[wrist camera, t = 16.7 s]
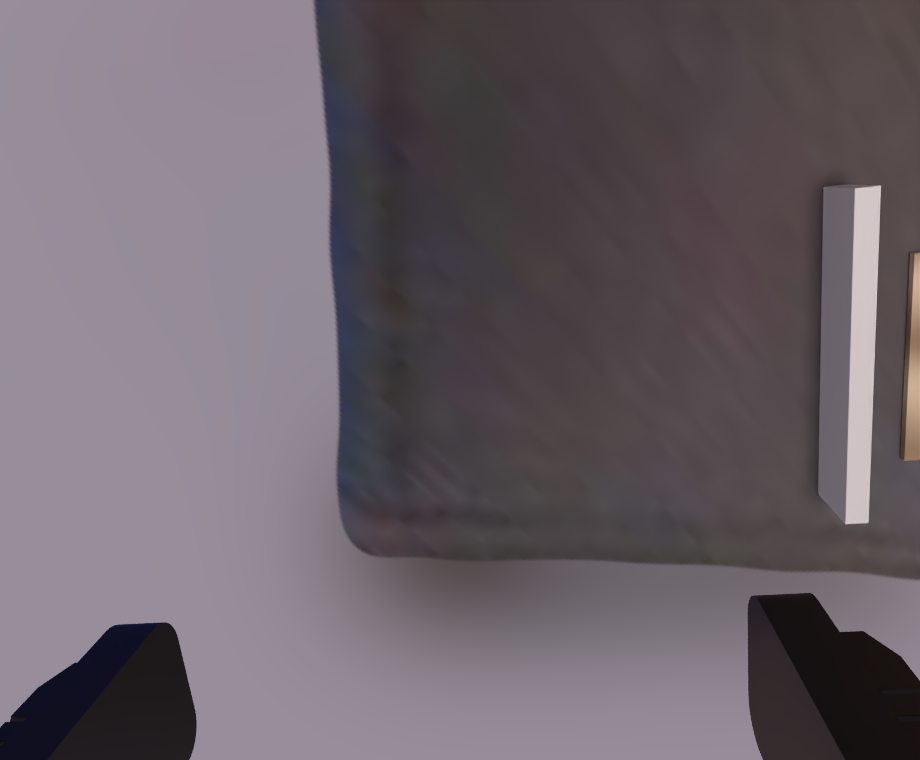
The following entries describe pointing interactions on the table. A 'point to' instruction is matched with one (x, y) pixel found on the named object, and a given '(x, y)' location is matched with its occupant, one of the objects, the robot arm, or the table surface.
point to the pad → (912, 367)
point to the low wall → (848, 347)
